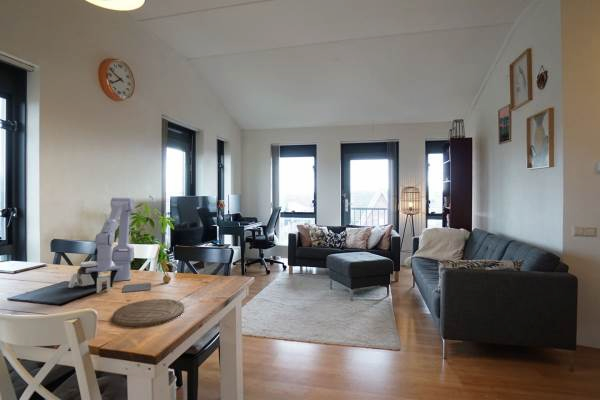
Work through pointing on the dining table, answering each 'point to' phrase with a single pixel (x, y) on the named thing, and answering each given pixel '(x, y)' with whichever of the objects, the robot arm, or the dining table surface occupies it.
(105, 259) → the robot arm
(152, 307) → the trivet
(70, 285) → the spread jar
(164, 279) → the figurine
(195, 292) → the dining table surface
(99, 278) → the stool
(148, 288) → the mat
